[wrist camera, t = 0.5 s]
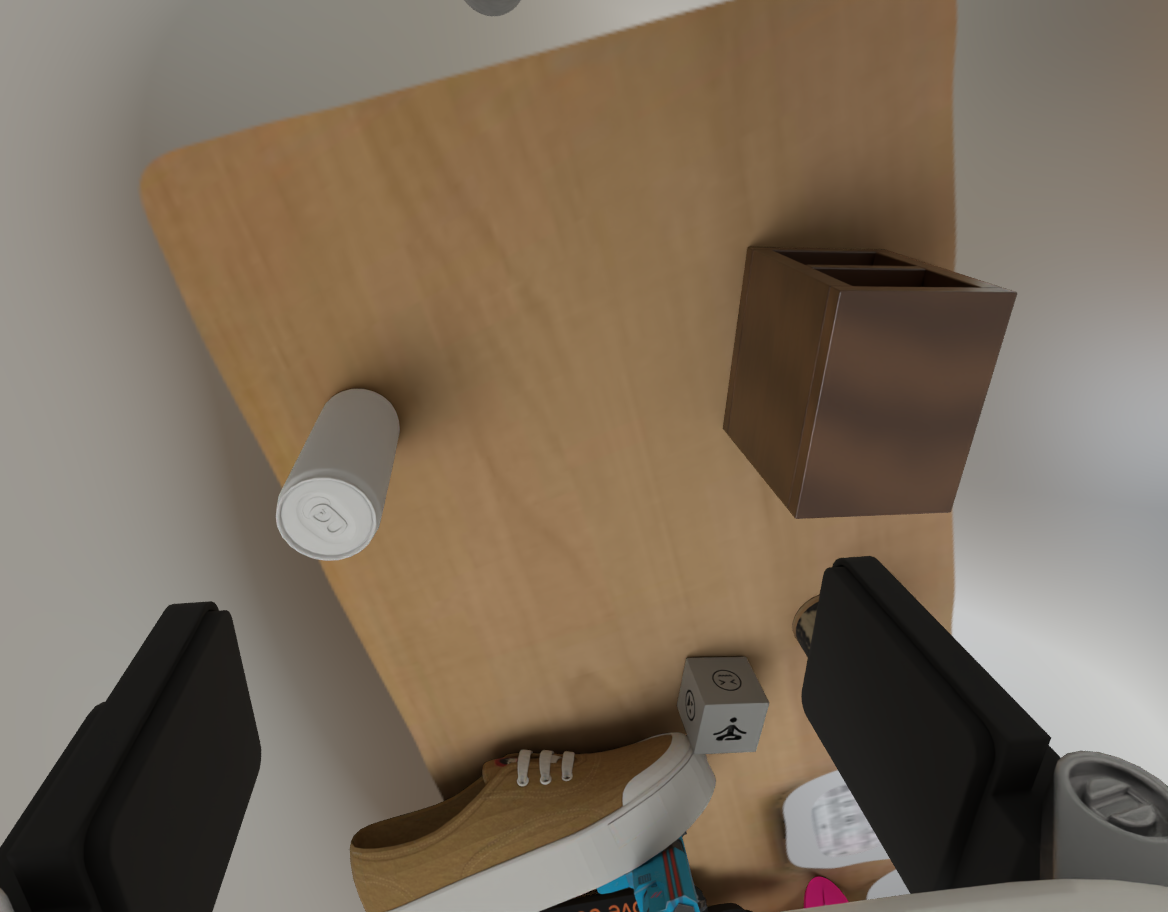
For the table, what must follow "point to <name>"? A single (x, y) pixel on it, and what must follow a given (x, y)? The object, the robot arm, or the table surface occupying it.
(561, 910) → the decorative sign
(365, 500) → the beverage can
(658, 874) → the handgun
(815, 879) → the figurine
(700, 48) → the table surface
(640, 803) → the sneaker
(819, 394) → the divided wooden organizer
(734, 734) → the dice cube
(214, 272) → the table surface
